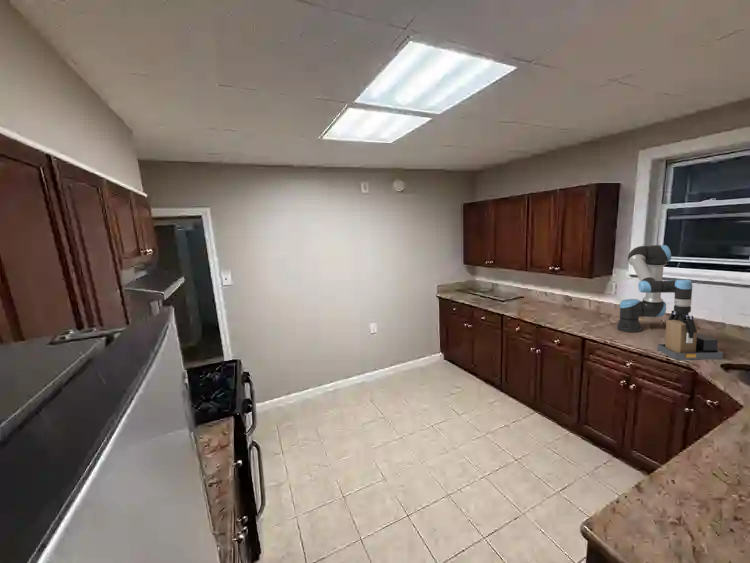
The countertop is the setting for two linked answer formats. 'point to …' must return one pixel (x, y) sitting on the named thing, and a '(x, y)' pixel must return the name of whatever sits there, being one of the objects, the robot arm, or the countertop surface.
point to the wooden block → (679, 337)
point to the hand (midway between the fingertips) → (680, 339)
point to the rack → (704, 350)
